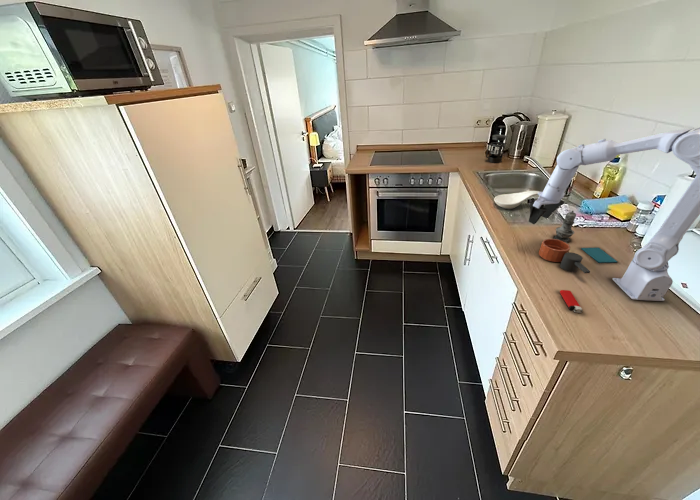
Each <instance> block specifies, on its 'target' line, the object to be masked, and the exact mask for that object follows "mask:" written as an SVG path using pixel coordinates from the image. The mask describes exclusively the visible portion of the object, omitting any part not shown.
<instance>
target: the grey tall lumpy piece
mask: <svg viewBox="0 0 700 500" xmlns="http://www.w3.org/2000/svg"><path fill="white" fill-rule="evenodd" d="M576 217H577V214H576V212H575V211H574V210H573V209H572V210H571V211H568V212H566V214H565V217H564V219H562V224H561V225H560V226H558V227H556V228H555V234H556V235H553V239H557V240H561V241H563V242H566V243H569V242H571V239H570V238H571V237H572V236H573V235H574V234H575V230H573V228H572V227H573V225H574V224H575V220H576Z"/></svg>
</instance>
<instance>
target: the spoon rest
mask: <svg viewBox="0 0 700 500" xmlns="http://www.w3.org/2000/svg"><path fill="white" fill-rule="evenodd" d="M538 192H540V191H539V190H526V191H520V192H514V193H504V194H498V195H496V196H495V197H494V198H493V200H494V203H495V204H496V205H497V206H498V207H501V208H503V209H506V210H511V209H515V208H516V207H519V206H520V205H521V204H522V203H524V202H525V201H527V200H528V199H530V198H531V197H533V196H539V195H538ZM544 206H545V204H544Z"/></svg>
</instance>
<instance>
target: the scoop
mask: <svg viewBox="0 0 700 500" xmlns="http://www.w3.org/2000/svg"><path fill="white" fill-rule="evenodd" d="M583 259H584V258H583V257H582V255H580V254H579V253H576V252H571V251H569V252H567V253H565V254H564V257H563V259H562V262H560V264H559V268H560V269H562V270H563V271H565V272H569V273H575V272H577V271H578V270H580V271H581V272H582V273H583V274H590V273H591V270H590V269H588V268H587V266H585V265H584V264H583V263H582V261H583Z"/></svg>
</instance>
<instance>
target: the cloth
mask: <svg viewBox="0 0 700 500" xmlns="http://www.w3.org/2000/svg"><path fill="white" fill-rule="evenodd" d="M580 249H581V250H582V251H583V252H584V253H586V254H587V256H589V257H590V258H592V260H593V261H595V262H596V263H597V264H612V263H613V264H615V263H616V264H617V263H618V260H616V259H615V258H614V257H612V256H611V255H610V254H608V253H607V252H605V251H604V250H603V249H601V247H581V248H580Z"/></svg>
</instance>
